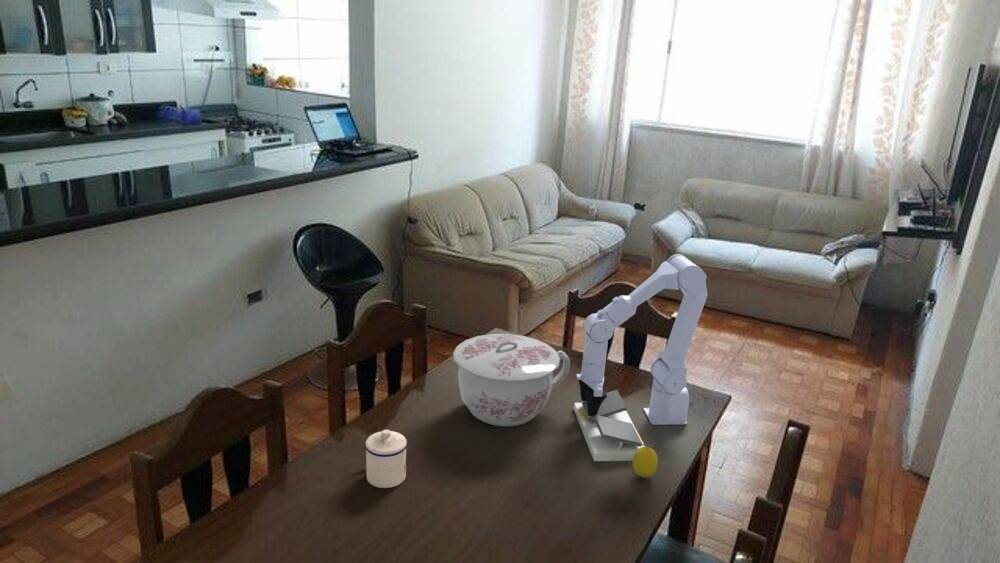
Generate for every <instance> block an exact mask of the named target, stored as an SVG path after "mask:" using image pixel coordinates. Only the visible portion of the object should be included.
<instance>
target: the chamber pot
mask: <svg viewBox="0 0 1000 563" xmlns="http://www.w3.org/2000/svg"><path fill="white" fill-rule="evenodd" d="M452 356H453V361H454V362H455V363H456V364H457V366H458V370H457V381H458V387H459V393H460V397H461V400H462V402H463V403H464V405H465V406H466V408H467V409H468V411H470V413H471V415H473V417H475V418H476V419H478V420H479V421H480V422H482V423H485V424H488V425H491V426H497V427H515V426H521V425H524V424H526V423H527V422H530V421H532V420H533V419H534V418H535V417H536V416H537V415H538V414H539V413H540V412H541V411H542V410H543V408H544V407H545V406H546V405H547V404H548V400H549V397H550V394H551V392H552V390H553V389H554V388H556V387H557V386H558V385H560V384H562V382H563V381H564V380H565V378H566V377H567V376H569V373H570V370H571V360H570V358H569V355H567V354H566V352H565V351H563V350H557V351H556V350H555V348H553V347H552V346H550V345H549V344H547V343H545V342H543V341H541V340H539V339H537V338H533V337H529V336H525V335H520V334H512V333H490V334H483V335H477V336H473V337H471V338H468V339H465V340H464V341H462V342H461V343H459V344H458V345H457V346H456V347H455V349H454V351H453V353H452ZM561 360H562V361H563V362H562V364H563V365H562V366H561V370H560V371H559V372H558V373H557V375H556V376H555V377H554V374H553V373H554V371H556V370H557V369H558V368H559V367H560V362H561Z"/></svg>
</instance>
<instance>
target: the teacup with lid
mask: <svg viewBox="0 0 1000 563" xmlns="http://www.w3.org/2000/svg"><path fill="white" fill-rule="evenodd" d="M364 448H365V455H366V456H365V457H366V458H365V464H366V468H365V469H366V480H367V482H368V483H369V484H370V485H372V486H373V487H376V488H379V489H380V488H381V489H389V488H394V487H397V486H399V485H401V484H402V483H403V482H404V481H405V479H406V476H407V448H408V440H407V439H406V437H405V436H404V435H403V434H402V433H400V432H398V431H394V430H389V429H383V430H382V431H377V432H375V433H373V434H371V435H369V436H368V437H367V439H366V441H365V444H364Z"/></svg>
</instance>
